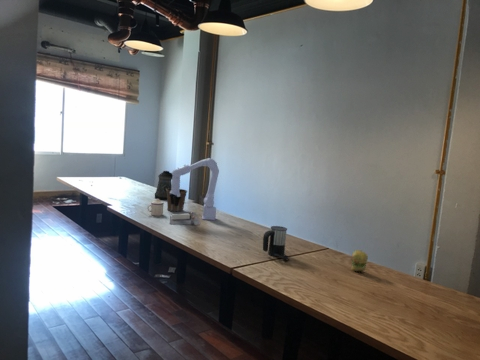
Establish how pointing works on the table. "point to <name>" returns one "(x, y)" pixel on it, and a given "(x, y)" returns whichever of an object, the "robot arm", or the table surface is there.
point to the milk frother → (275, 241)
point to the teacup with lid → (156, 208)
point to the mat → (184, 221)
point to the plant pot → (180, 205)
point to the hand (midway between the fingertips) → (174, 205)
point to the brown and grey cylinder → (192, 220)
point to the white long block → (180, 216)
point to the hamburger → (359, 260)
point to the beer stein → (163, 185)
